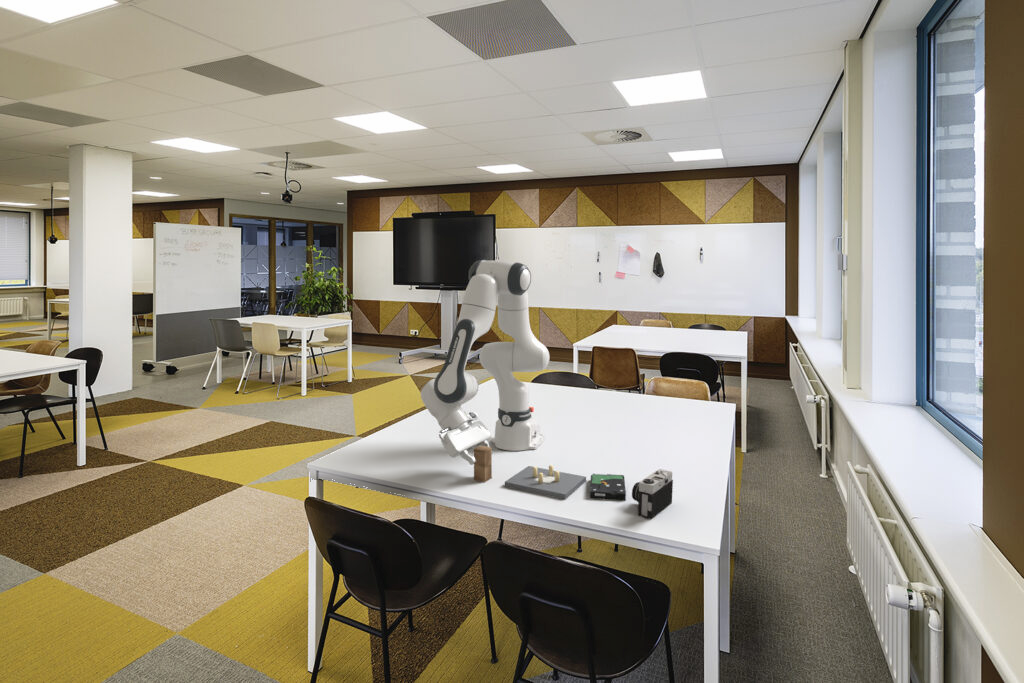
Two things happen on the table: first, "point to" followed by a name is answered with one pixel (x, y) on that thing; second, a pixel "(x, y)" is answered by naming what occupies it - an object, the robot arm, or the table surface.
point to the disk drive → (607, 487)
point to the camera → (653, 493)
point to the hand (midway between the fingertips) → (482, 458)
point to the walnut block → (483, 463)
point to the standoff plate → (546, 482)
